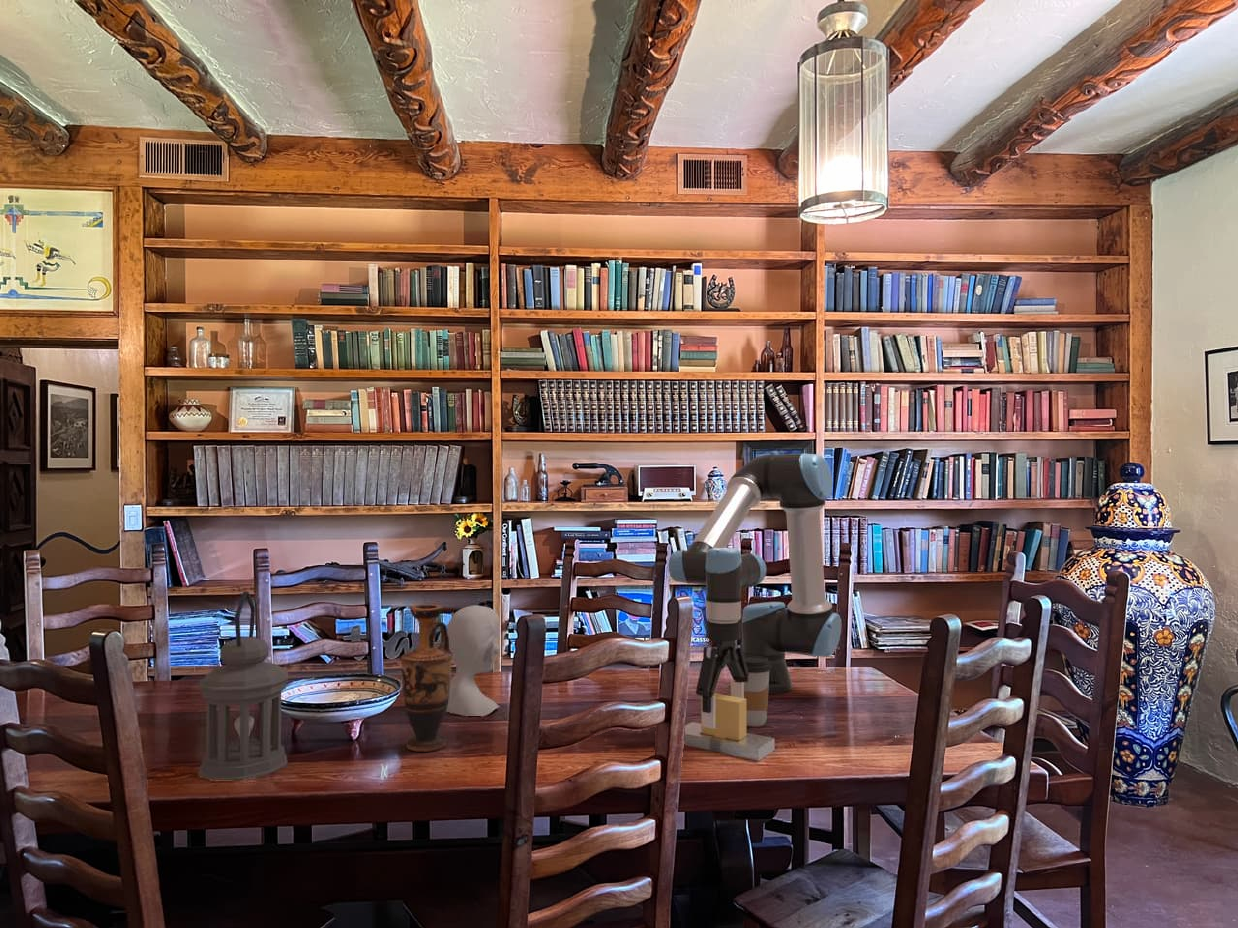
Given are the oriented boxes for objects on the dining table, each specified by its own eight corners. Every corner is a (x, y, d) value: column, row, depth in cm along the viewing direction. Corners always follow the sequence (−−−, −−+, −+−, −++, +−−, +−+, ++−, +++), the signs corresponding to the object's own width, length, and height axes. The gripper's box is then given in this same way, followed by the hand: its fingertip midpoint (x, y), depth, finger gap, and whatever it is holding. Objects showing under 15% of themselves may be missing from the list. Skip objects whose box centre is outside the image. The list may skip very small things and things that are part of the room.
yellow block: (701, 743, 173) (701, 695, 174) (709, 738, 176) (709, 692, 177) (739, 751, 168) (739, 702, 168) (746, 746, 171) (746, 698, 171)
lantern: (284, 776, 155) (285, 595, 155) (187, 786, 150) (189, 599, 151) (293, 748, 171) (294, 584, 171) (206, 756, 166) (208, 587, 167)
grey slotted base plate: (674, 742, 175) (674, 731, 175) (692, 733, 181) (691, 721, 181) (758, 760, 163) (758, 748, 163) (774, 749, 170) (774, 738, 170)
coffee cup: (770, 729, 184) (770, 663, 184) (733, 726, 186) (733, 662, 186) (770, 718, 192) (770, 655, 193) (735, 716, 194) (735, 654, 194)
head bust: (529, 701, 207) (529, 604, 208) (478, 720, 191) (478, 615, 191) (467, 689, 219) (467, 597, 219) (414, 706, 203) (414, 607, 203)
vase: (406, 757, 165) (407, 612, 166) (395, 742, 175) (396, 604, 175) (458, 749, 170) (458, 608, 171) (444, 735, 180) (445, 601, 180)
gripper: (733, 610, 185) (733, 702, 185) (679, 627, 165) (679, 730, 164) (763, 613, 181) (763, 708, 181) (711, 631, 160) (712, 737, 160)
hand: (723, 719), depth 172 cm, fingers open, 13 cm apart
